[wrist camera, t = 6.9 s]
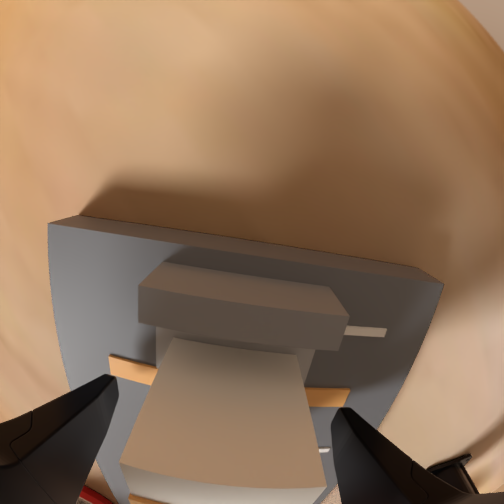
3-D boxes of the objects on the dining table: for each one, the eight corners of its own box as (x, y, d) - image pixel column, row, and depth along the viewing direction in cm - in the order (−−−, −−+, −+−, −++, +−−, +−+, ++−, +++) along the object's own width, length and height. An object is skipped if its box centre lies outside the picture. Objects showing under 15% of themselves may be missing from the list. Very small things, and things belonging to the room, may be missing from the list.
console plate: (417, 267, 10) (477, 305, 6) (292, 511, 16) (296, 547, 12) (77, 215, 10) (9, 234, 6) (125, 489, 15) (114, 523, 11)
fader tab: (298, 355, 9) (331, 492, 4) (273, 430, 10) (282, 541, 5) (171, 336, 9) (114, 466, 4) (171, 417, 10) (141, 524, 5)
